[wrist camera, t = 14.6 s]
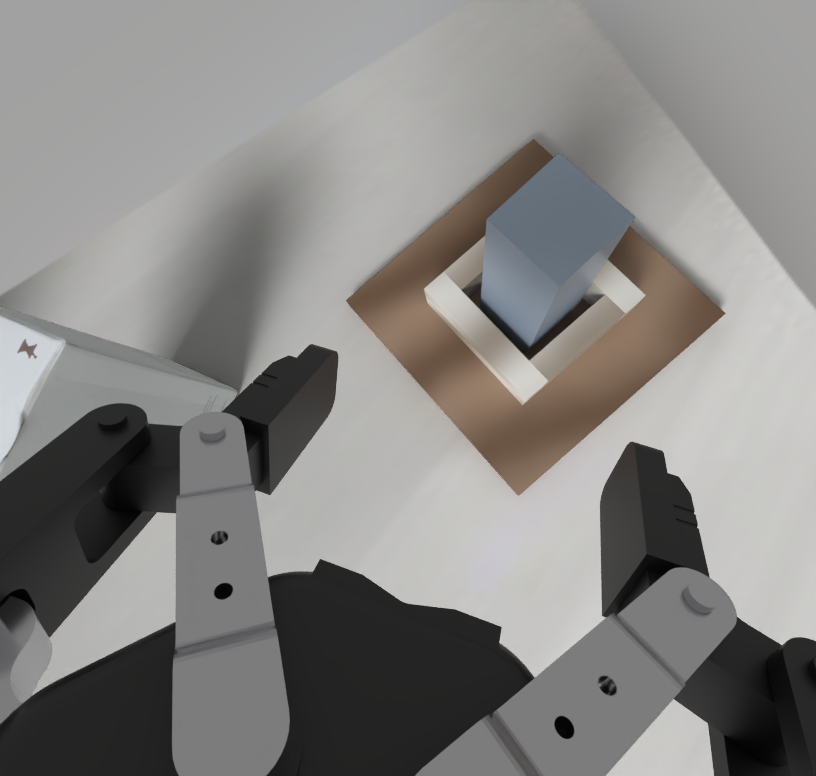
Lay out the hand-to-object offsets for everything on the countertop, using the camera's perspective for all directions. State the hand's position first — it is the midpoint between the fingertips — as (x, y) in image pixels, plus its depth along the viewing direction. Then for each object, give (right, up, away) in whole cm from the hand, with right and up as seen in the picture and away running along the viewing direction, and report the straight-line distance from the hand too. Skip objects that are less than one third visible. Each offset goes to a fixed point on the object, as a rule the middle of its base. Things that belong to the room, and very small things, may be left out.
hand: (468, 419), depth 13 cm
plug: (+6, +6, +17) cm, 18 cm away
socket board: (+6, +6, +18) cm, 20 cm away
